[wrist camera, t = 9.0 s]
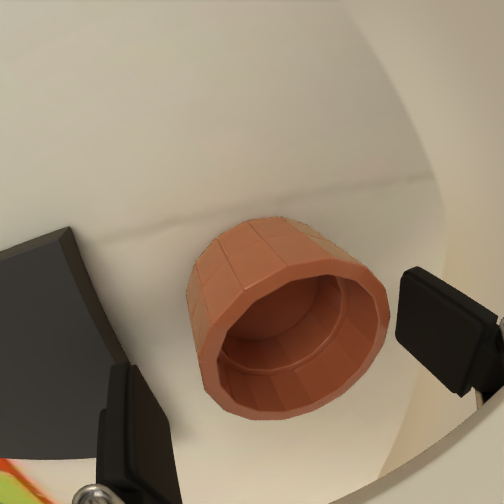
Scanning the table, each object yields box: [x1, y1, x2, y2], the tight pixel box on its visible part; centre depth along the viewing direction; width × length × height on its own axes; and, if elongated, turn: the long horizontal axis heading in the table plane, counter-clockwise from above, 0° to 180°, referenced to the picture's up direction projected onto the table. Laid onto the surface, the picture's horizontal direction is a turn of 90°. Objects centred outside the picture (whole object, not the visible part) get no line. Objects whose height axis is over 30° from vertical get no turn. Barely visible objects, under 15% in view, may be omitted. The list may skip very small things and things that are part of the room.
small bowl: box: [186, 217, 390, 420], centre depth 11 cm, size 6×6×4 cm
